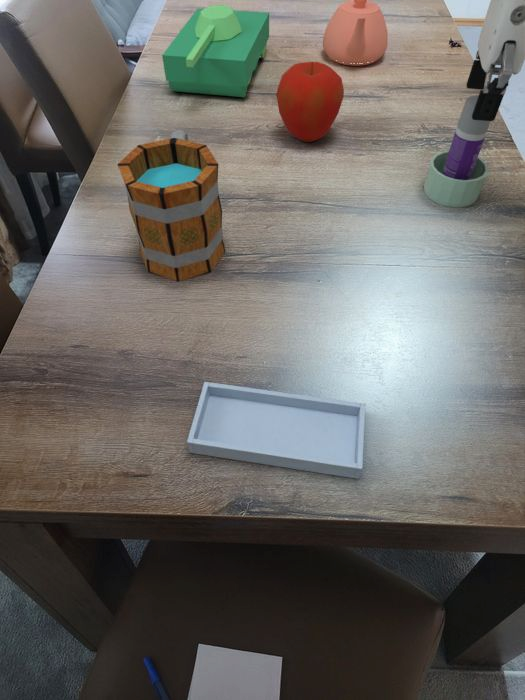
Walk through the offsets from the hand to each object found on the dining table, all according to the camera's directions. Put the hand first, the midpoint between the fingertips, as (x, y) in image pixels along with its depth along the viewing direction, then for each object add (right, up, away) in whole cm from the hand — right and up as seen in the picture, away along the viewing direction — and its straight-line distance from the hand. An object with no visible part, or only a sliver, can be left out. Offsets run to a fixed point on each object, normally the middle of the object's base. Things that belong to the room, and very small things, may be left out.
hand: (479, 103), depth 75 cm
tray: (-31, -47, -17) cm, 59 cm away
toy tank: (-43, +25, +39) cm, 64 cm away
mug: (-46, -20, +5) cm, 50 cm away
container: (0, -9, +12) cm, 15 cm away
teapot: (-11, +34, +46) cm, 58 cm away
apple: (-24, +5, +23) cm, 34 cm away
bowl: (0, -10, +12) cm, 15 cm away
